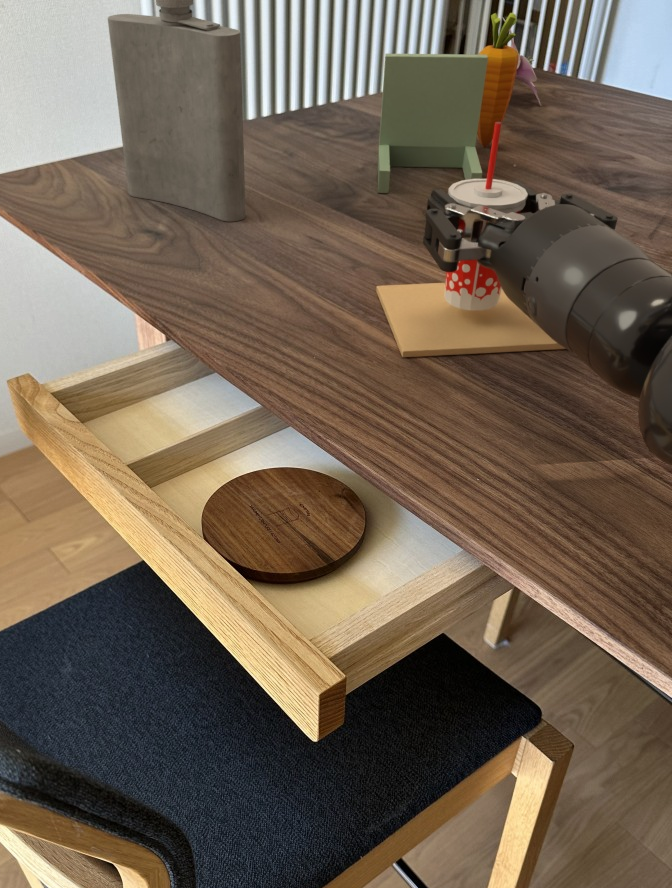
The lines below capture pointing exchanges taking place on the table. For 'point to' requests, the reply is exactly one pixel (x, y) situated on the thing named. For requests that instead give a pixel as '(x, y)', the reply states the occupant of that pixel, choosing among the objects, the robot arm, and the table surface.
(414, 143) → the tablet stand
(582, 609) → the table surface
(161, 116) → the hip flask
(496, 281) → the beverage cup
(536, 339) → the cork mat
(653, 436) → the robot arm
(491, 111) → the carrot
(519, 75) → the lily
